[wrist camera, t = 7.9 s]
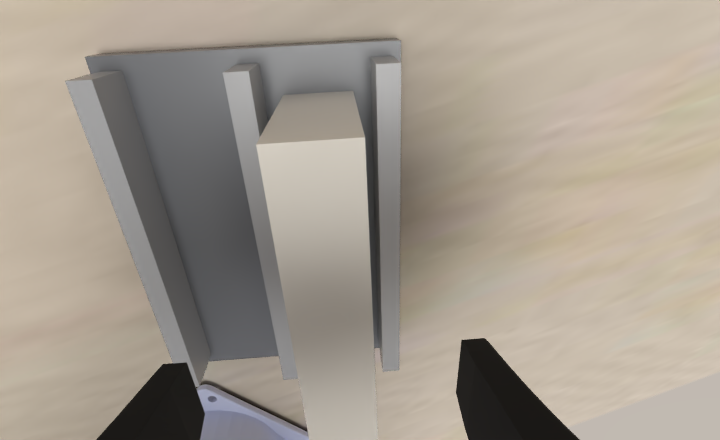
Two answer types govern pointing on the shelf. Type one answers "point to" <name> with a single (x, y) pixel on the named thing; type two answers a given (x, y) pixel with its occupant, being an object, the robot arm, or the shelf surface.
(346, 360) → the long beige block
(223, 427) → the robot arm
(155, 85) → the ridged grey tray
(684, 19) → the shelf surface
